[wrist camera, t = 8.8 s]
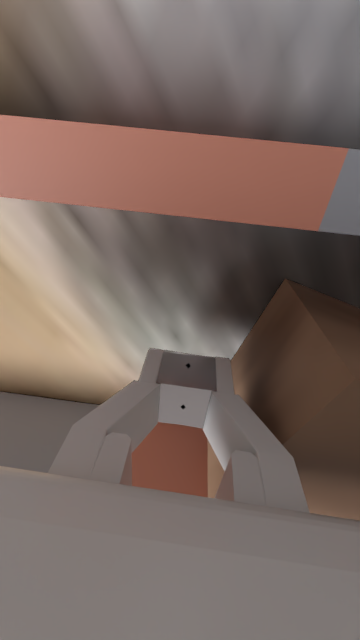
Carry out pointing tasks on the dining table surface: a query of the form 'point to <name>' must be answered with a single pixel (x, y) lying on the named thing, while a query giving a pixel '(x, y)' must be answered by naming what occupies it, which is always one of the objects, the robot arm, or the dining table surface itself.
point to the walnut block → (306, 393)
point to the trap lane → (169, 199)
